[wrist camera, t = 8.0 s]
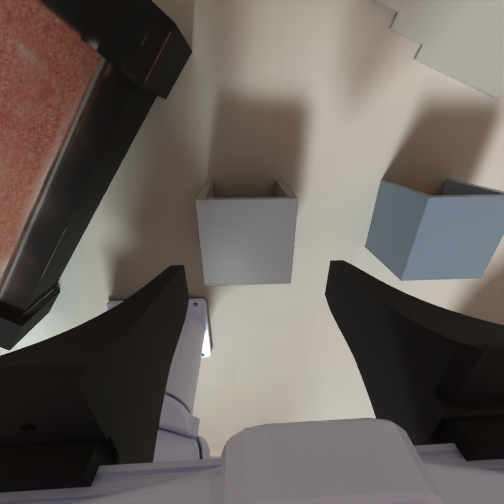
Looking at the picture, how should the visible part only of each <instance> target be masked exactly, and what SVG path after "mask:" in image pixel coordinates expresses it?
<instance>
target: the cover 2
mask: <svg viewBox="0 0 504 504" xmlns="http://www.w3.org/2000/svg"><path fill="white" fill-rule="evenodd" d="M503 235H504V192H503V191H499V190H495V189H490V188H486V187H482V186H478V185H474V184H469V183H465V182H461V181H457V180H453V179H451V180H446V183H445V186H444V189H443V191H442V194H441V195H428V194H426V193H423V192H420V191H417V190H414V189H411V188H408V187H405V186H402V185H400V184H397V183H394V182H391V181H388V180H381V183H380V187H379V192H378V196H377V200H376V204H375V208H374V213H373V217H372V221H371V225H370V229H369V234H368V238H367V242H366V246H365V247H366V248H367V249H368V250H369V251H370V252H371V253H372V254H373V255H374V256H375V257H376V258H378V259H379V260H380V261H381V262H382V263H383V264H384V265H385V266H386V267H387V268H388V269H389V270H390V271H391V272H393V273H394V274H395V275H396V276H397V277H398V278H399V279H400V280H401V281H404V280H437V279H470V278H481V277H482V275H483V273H484V271H485V270H486V268H487V266H488V264H489V262H490V260H491V258H492V256H493V254H494V252H495V250H496V248H497V246H498V244H499V242H500V240H501V238H502V236H503Z"/></svg>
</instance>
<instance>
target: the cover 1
mask: <svg viewBox="0 0 504 504" xmlns="http://www.w3.org/2000/svg"><path fill="white" fill-rule="evenodd" d="M195 203H196V212H197V221H198V230H199V239H200V248H201V257H202V266H203V276H204V285H205V286H222V285H254V284H287V283H291V275H292V263H293V252H294V240H295V229H296V217H297V206H298V198H297V197H296V196H295V195H294V193H293V192H292V191H291V190H290V189H289V187H288V186H287V185H286V184H285V183H284V182H283V181H276V197H233V198H214V191H213V181H212V182H206V183H205V185H204V186H203V188H202V190H201V191H200V193H199V195H198V196H197V198H196V200H195Z"/></svg>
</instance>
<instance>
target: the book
mask: <svg viewBox="0 0 504 504" xmlns="http://www.w3.org/2000/svg"><path fill="white" fill-rule="evenodd" d="M191 53H192V50H191V49H190V47H189V45H188V44H187V42H186V40H185V39H184V37H183V35H182V34H181V32H180V30H179V29H178V27H177V25H176V24H175V23H174V22H173V21H172V20H171V19H170V18H169V17H168V16H167V15H166V14H165V13H164V12H163V11H162V10H161V9H160V8H159V7H158V6H156V5H155V4H154V3H153V2H152V1H151V0H0V347H2V348H4V349H7V350H11V349H12V348H13V347H14V346H15V345H16V344H17V343H18V342H19V341H20V340H21V339H22V338H23V337H24V336H25V335H26V334H27V333H28V332H29V331H30V330H31V329H32V328H33V327H34V326H35V325H36V324H37V323H38V322H40V321H41V320H42V319H43V318H44V317H45V316H46V315H47V314H48V313H49V311H50V309H51V307H52V306H53V304H54V302H55V300H56V298H57V296H58V295H59V293H60V291H59V290H57V289H55V286H56V284H57V282H58V280H59V278H60V277H61V275H62V273H63V271H64V269H65V267H66V265H67V263H68V262H69V260H70V258H71V256H72V254H73V252H74V250H75V248H76V247H77V245H78V243H79V241H80V239H81V237H82V235H83V233H84V232H85V230H86V228H87V226H88V224H89V222H90V220H91V218H92V217H93V215H94V213H95V211H96V209H97V207H98V205H99V204H100V202H101V200H102V198H103V196H104V194H105V192H106V190H107V189H108V187H109V185H110V183H111V181H112V179H113V177H114V175H115V174H116V172H117V170H118V168H119V166H120V164H121V162H122V160H123V159H124V157H125V155H126V153H127V151H128V149H129V147H130V145H131V144H132V142H133V140H134V138H135V136H136V134H137V132H138V130H139V129H140V127H141V125H142V123H143V121H144V119H145V117H146V115H147V114H148V112H149V110H150V108H151V106H152V104H153V102H154V100H155V99H156V97H157V95H158V96H160V97H162V98H165V99H166V98H167V96H168V95H169V93H170V91H171V89H172V87H173V85H174V84H175V82H176V80H177V78H178V76H179V75H180V73H181V71H182V69H183V67H184V65H185V64H186V62H187V60H188V58H189V56H190V55H191Z"/></svg>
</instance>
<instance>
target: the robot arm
mask: <svg viewBox="0 0 504 504" xmlns="http://www.w3.org/2000/svg"><path fill="white" fill-rule="evenodd" d="M325 296H326V299H327V302H328V305H329V308H330V310H331V313H332V315H333V317H334V319H335V321H336V323H337V325H338V327H339V329H340V330H341V332H342V334H343V336H344V338H345V340H346V342H347V344H348V346H349V348H350V350H351V352H352V354H353V356H354V358H355V361H356V363H357V366H358V368H359V371H360V374H361V376H362V379H363V381H364V384H365V387H366V390H367V393H368V395H369V398H370V401H371V404H372V407H373V410H374V413H375V416H376V419H374V418H359V419H342V420H325V421H308V422H291V423H274V424H264V425H259V426H254V427H250V428H245V429H244V430H242V431H241V432H239V433H237V434H236V435H234V436H233V437H231V438H230V439H229V440H228V441H227V442H226V444H225V447H224V450H223V452H222V457H221V458H214V459H211V456H210V451H209V447H208V444H207V442H206V440H205V439H204V438H203V437H201V436H198V428H199V421H200V419H199V418H197V417H194V416H192V412H193V406H194V399H195V393H196V387H197V381H198V374H199V368H200V362H201V357H210V356H211V352H212V351H211V342H210V333H209V324H208V315H207V306H206V300H205V299H203V298H189V295H188V289H187V282H186V276H185V270H184V265H172V266H170V267H168V268H167V269H166V270H164V271H163V272H162V273H161V274H159V275H158V276H157V277H156V278H154V279H153V280H152V281H151V282H149V283H148V284H147V285H146V286H144V287H143V288H141V289H140V290H139V291H137V292H136V293H134V294H133V295H132V296H130V297H129V298H128V299H126V300H123V301H109V302H108V303H107V304H106V309H107V311H106V312H105V313H103V314H101V315H99V316H97V317H95V318H93V319H91V320H89V321H87V322H85V323H83V324H81V325H79V326H77V327H75V328H72V329H70V330H68V331H66V332H63V333H61V334H59V335H56V336H54V337H51V338H49V339H46V340H44V341H41V342H38V343H36V344H33V345H30V346H27V347H24V348H22V349H19V350H16V351H13V352H10V353H7V354H4V355H1V356H0V504H504V325H500V324H496V323H492V322H488V321H484V320H481V319H477V318H473V317H470V316H466V315H463V314H460V313H456V312H453V311H450V310H447V309H444V308H442V307H439V306H436V305H433V304H430V303H428V302H425V301H423V300H420V299H418V298H415V297H413V296H411V295H408V294H406V293H404V292H402V291H399V290H397V289H395V288H393V287H391V286H389V285H387V284H386V283H384V282H382V281H380V280H378V279H376V278H374V277H373V276H371V275H369V274H367V273H366V272H364V271H362V270H360V269H358V268H357V267H355V266H353V265H351V264H349V263H347V262H345V261H343V260H337V261H330V267H329V273H328V279H327V285H326V291H325ZM194 302H196V303H198V304H194Z"/></svg>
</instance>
